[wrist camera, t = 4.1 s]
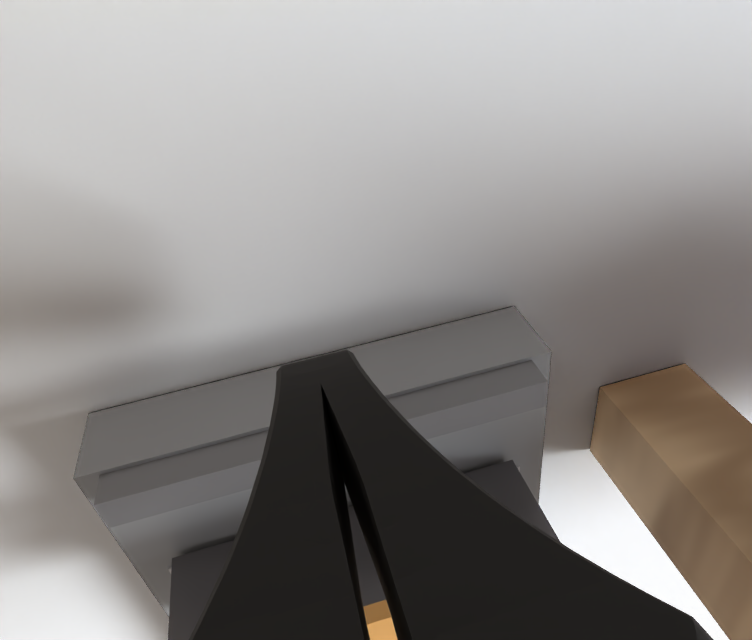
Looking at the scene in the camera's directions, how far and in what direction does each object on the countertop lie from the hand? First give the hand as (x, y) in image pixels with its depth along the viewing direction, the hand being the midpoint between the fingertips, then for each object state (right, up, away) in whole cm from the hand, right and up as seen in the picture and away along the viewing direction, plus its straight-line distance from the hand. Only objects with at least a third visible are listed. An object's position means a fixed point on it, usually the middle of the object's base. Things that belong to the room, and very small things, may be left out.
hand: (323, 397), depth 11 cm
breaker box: (0, -5, +8) cm, 10 cm away
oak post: (+10, -1, +8) cm, 13 cm away
